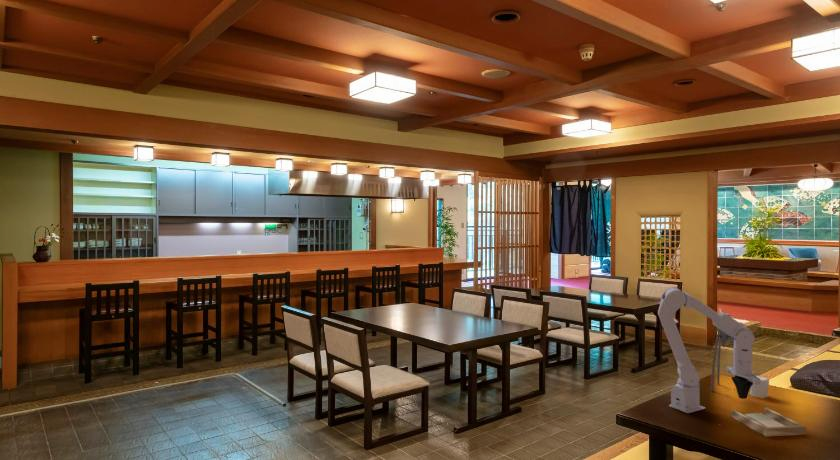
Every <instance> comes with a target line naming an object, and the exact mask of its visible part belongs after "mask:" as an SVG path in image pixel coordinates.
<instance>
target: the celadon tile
mask: <svg viewBox="0 0 840 460" xmlns="http://www.w3.org/2000/svg"><path fill="white" fill-rule="evenodd" d="M744 415H745V416H747V417H749V418H751V419H752V420H754V421H756V422H757V421H764V420H774V419H772V418H770V417H768V416H766V415H764V413H761V412H756V413H755V412H752V413H744Z"/></svg>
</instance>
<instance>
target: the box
mask: <svg viewBox="0 0 840 460" xmlns="http://www.w3.org/2000/svg"><path fill="white" fill-rule="evenodd" d="M763 414H764V415H766V416H768V417H770V418H772V419H774V420H775V421H777V422H779V423H781V424H783V425H785V426H779V427H765V426H763V425H762V424H760V423H758V422H756V421H754V420H752V419H751V418H749V417H747V416H745V414H744V413H741V412H739V411H738V410H736V409H731V410H730V417H731V418H732V417H733V419H734V420H736V421H737V422H739V423H741V424H743V425H744V426H747V428H748V427H749V428H750V429H752V430H753V431H755V432H757V433H759V434H760V435H762V436H764V437H765V438H766V437H769V438H770V437H781V436H782V437H783V436H785V437H786V436H799V435H800V436H801V435H806V434H807V433H806V432H807V431H806V426H805V425H803V424H801V423H799V422H797V421H795V420H793V419H791V418H789V417H788V416H785V415H782V413H779V412H777V411H774V410H773V409H770V408H769V407H764V408H763Z"/></svg>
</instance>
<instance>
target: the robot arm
mask: <svg viewBox="0 0 840 460" xmlns="http://www.w3.org/2000/svg"><path fill="white" fill-rule="evenodd" d="M660 298H661V299H660V303H659V307H658V310H657V316H658V317H659V320H660V323H661V326H662V328H663V331H664V334H665V336H666V339H667V340H668V343H669V346H670V349H671V351H672V354H673V356H674V359H675V362H676V365H677V367H676V372H677V374H678V375H679V377H678V378H677V381H676V384H675V385H674V386H672V388H671V389H670V404H668V406H669V407H670V408H672V409H676V410H678V411H681V412H683V413H686V414H690V413H695V412H698V411H701V410H705V409H706V407H705V406H702V405H700V398H701V397H700V381H701V377H700V376H701V375H700V374H699V373H698V371H697V369H696V367H695V365H694V364H692V361H691V360H690V357H689V355H688V354H689V353H688V351H687V349H686V346H685V344H684V341H683V339H682V337H681V336H682V335H681V333H680V332H679V331H680V330H679V329H678V326H677V324H676V322H675V319H674V316H675V314H676V312H677V311H678V310H679V309H681V308H682V307H684V308H692V309H694V310H695V311H697V312H699V313H701V314H702V315H703V316H705V317H707V318H709V319H711V321H712V325H713V326H714V327H716V329H717V328H719V329H720V330H722V331H723V332H725V333H726V334H728V336H732V337H733V338H734V347H733V346H732V349H733V350H732V351H733V362H732V363H733V364H732V365H733V366H732V365H731V366H726V373H731V374H732V375H734V376H731V380H732V381H733V384H734V386H735V389H736V392H737V395H738V398H739V399H741V400H743V399H744V400H747V398H748V395H749V393H750V388H751V386H752V385H753V384H755V385H756V384H760V378H758V377H756V376H757V375H756V372H754V371H753V343H754V342H755V340H756V337H755V335H754V332H753V331H752V330H751V329H749V328H748V327H746V325H744V323H742V321H740V322H739V321H738V320H735V319H734V318H733V317H732V315H731V314H730V313H728V312H727V313H725V312H723V311H722V312H717V311H715V310H714V309H712V308H711V307H709V306H708V305H707V304H705V303H704V302H702V301H701V300H699V299H698V298H696V297H695V296H693V295H691V294H690V293H687V292H686V291H684V290H681V289H679V288H678V287H675V286H672V287H671V286H670V287H668V288H667V289H665V291H664V292H663V293H662V294H661V297H660Z"/></svg>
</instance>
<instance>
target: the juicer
mask: <svg viewBox="0 0 840 460" xmlns="http://www.w3.org/2000/svg"><path fill="white" fill-rule="evenodd" d="M716 331H717V334H716V339H715V345H714V350H713V355H712V357H713V358H712V364H711V365H712V366H711V384H710V385H711V388H710V389H711V390H710V391H711V392H714V389H715V372H716V383H717V385H720V370H721V348H725V346H726V344H727V341H729V340H730V343H731V345H732V348H733V347H734V338H733V337H732V336H729V335H728V334H726V333H725V332H723V331H722V330H720V329H719V328H717V327H716ZM716 359H717V361H716ZM716 362H717V366H716ZM716 367H717V368H716ZM715 370H717V371H715Z"/></svg>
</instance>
